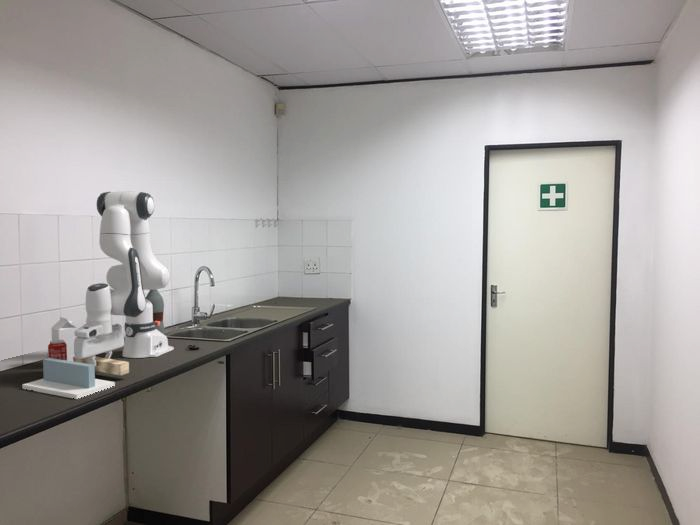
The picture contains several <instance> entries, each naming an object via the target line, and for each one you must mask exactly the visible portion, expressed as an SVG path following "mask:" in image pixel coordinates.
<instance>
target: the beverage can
mask: <svg viewBox="0 0 700 525" xmlns="http://www.w3.org/2000/svg"><path fill="white" fill-rule="evenodd" d="M47 355H48V357H47V358H53V359H60V360H66V361H67V344H66V343H65V341H64V340H54V341H52V340H51V341H49V344H48V345H47Z"/></svg>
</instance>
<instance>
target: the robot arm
mask: <svg viewBox="0 0 700 525" xmlns="http://www.w3.org/2000/svg"><path fill="white" fill-rule="evenodd" d="M96 199H97V200H96V211H97V212H98V214H99V215H100V216H101V221H100V226H99V227H100V229H99V239H98V240H99V242H98V244H99V247H100V250H101V252H103V254H105V255H106V256H108V258H111V259H113V260H116V261H117V262H120V263H121V264H117V265H112V266H110V268H109V269H108V270H107V273H106V279H105V280H106V282H107V283H104V282H103V283H101V282H100V283H99V282H98V283H95V284H90V285H89V286H88V287H87V288H86V292H85V312H86V320H85V322H86V323H84V324H83V325H82V326H80V327H79V328H77V330H75V332H74V335H75V336H77V337H76V338H75V341H74V355H75V356H76V357H77V358H81V359H83V358H86V357H88V358H89V359H90V361H91V363H92V365H95V367H96V366H98V361H96V360H95V357H97V356H96V355H100V354H103V353H105V356H104V358H108V359H111V357H112V355H113V351H114V350H117V349H121V348H123V349H122V355H121V356H122V357H124V358H130V359H140V358H141V359H142V358H155V357H160V356H162V355H164V354H166V353H169V352H171V351H174V349H175V348H174V346H171V345H169V340H168V337H167V335H165V333H164V334H162V333H161V332H160V331H158V330H157V329H156V326H155V325H157V326H159V325H160V321H155V322H154V321H153V305H152V303H151V302H150V301H149V300H148V299H146V298H145V297H146V296H145V291H150V290H155V289H157V290H160V289H165V288H166V287H167V286H168V285H169V283H170V279H171V275H170V274H171V273H170V271H169V269H168V267H166V265H164V264H162V263H161V262H160V261H159V260H158V259H157V257H156V256H155V254H154V252H153V249H152V243H151V231H150V222H149V218H150V217H152V215H153V214H154V211H155V200H154V198H153V196H152V195H151V194H150V193H148V192H143V191H141V192H139V191H130V190H125V191H105V192H102V193H100V194H99V196H97V198H96ZM113 316H122V317H123V316H124V317H125V322H124V327H123V326H122V325H121V324H119V323H115V324H113ZM123 328H124V331H123ZM124 332H125V333H124Z"/></svg>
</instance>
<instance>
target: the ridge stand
mask: <svg viewBox="0 0 700 525" xmlns="http://www.w3.org/2000/svg"><path fill="white" fill-rule="evenodd" d="M42 365H43V367H42V369H43V371H42V372H43V373H42V374H43V378H41V379H37V380H34V381H33V380H32V381H30V382H27V383H23V384H22V385H21V386H22V389H23V390H26V389H27V390H26V391H31V390H33V392H36V393H41V394H42V393H43V394H48V395H53V396H58V397H63V398H69V399H73V398H74V399H73V400H79V399H81V397H82V398H84V396H85V397H88V396H90V394H91V395H93V393H94V394H96V393H95V392H97V393H99V392H102V391H105V390H108V389H111V388H113V387H112V386H114V387H115V385H116V382H115V381H111V380H105V379H99V378H96V375H95V374H96V371H95V365H92V364H86V363H79V362H73V361H66V360H60V359H53V358H48V357H47V358H43V359H42ZM110 387H111V388H110ZM107 388H108V389H107ZM104 389H105V390H104ZM101 390H102V391H101ZM98 391H99V392H98ZM87 395H88V396H87ZM78 398H79V399H78Z"/></svg>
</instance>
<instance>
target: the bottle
mask: <svg viewBox="0 0 700 525" xmlns="http://www.w3.org/2000/svg"><path fill="white" fill-rule="evenodd" d="M145 298H146V299H148V300H149V301H150V302H151V303H152V305H153V321H154V322H155V321H160V325H159V326H157V325H155V326H156V329H157V330H158V331H160V332H161V333H162V334H164V335H165V332H166V331H165V325H164V324H165V323H164V309H165V302H164V298H163V296H162V295H161V293H160V292H159V289H155V290H148V292H147V294H146V296H145Z"/></svg>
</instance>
